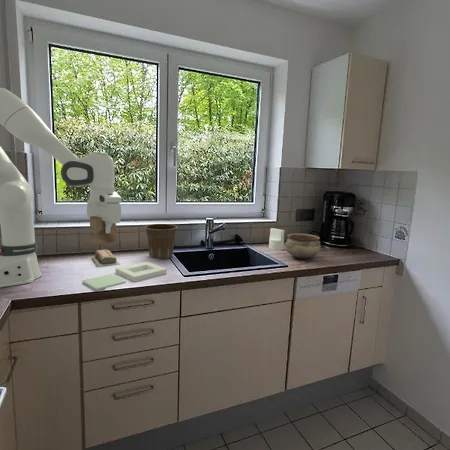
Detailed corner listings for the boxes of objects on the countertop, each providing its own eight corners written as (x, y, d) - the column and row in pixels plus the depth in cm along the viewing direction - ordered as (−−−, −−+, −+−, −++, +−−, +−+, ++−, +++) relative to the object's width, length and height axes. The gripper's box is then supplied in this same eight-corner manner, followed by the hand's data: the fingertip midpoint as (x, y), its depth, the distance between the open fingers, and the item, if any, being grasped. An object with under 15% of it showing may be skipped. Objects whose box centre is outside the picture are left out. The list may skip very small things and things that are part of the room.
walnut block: (96, 244, 118) (96, 218, 117) (90, 242, 122) (89, 216, 120) (116, 241, 124) (115, 216, 123) (109, 239, 128) (109, 215, 126)
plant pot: (162, 262, 157) (163, 230, 154) (138, 257, 164) (138, 226, 162) (182, 255, 171) (183, 226, 168) (159, 251, 178) (159, 222, 176)
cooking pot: (295, 265, 161) (297, 241, 159) (273, 255, 178) (274, 234, 176) (330, 260, 173) (332, 238, 171) (306, 252, 190) (308, 232, 187)
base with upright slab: (265, 247, 196) (266, 228, 194) (274, 246, 202) (276, 227, 200) (277, 250, 189) (278, 231, 187) (286, 248, 196) (287, 229, 194)
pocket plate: (134, 282, 127) (134, 276, 127) (115, 273, 137) (115, 268, 137) (166, 274, 139) (166, 268, 139) (146, 266, 149) (146, 261, 148)
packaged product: (91, 249, 158) (111, 248, 163) (91, 259, 159) (111, 257, 164) (97, 258, 143) (120, 256, 148) (98, 269, 144) (120, 266, 149)
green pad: (96, 291, 117) (96, 288, 117) (82, 282, 125) (82, 280, 125) (125, 283, 126) (125, 281, 126) (110, 276, 134) (110, 273, 134)
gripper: (82, 194, 124) (82, 228, 127) (108, 198, 111) (108, 237, 113) (97, 193, 129) (98, 226, 131) (124, 198, 116) (124, 235, 118)
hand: (103, 231), depth 122 cm, fingers closed on walnut block, 5 cm apart
